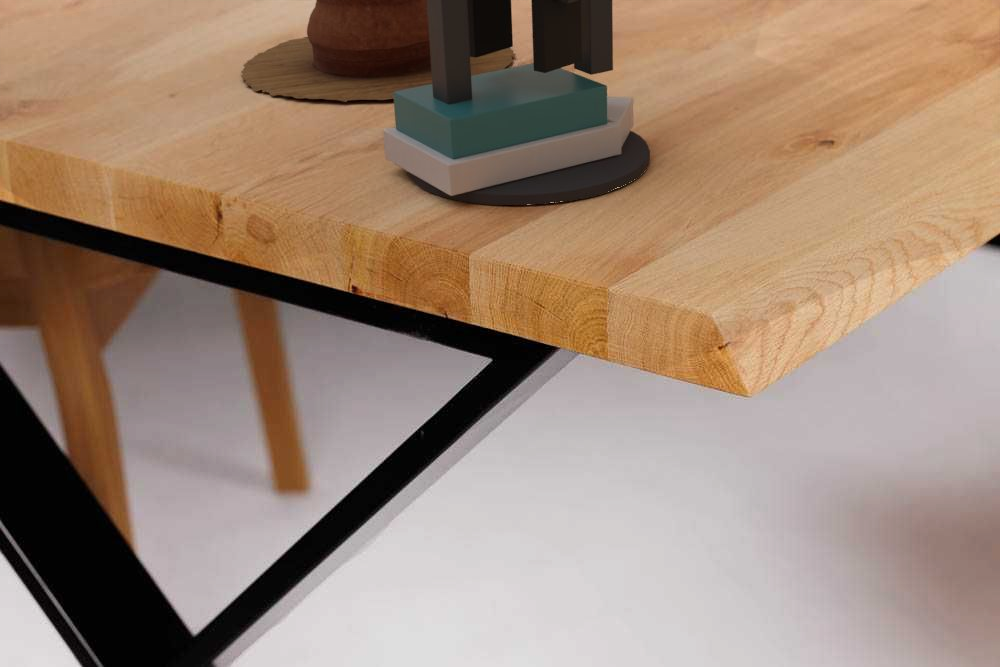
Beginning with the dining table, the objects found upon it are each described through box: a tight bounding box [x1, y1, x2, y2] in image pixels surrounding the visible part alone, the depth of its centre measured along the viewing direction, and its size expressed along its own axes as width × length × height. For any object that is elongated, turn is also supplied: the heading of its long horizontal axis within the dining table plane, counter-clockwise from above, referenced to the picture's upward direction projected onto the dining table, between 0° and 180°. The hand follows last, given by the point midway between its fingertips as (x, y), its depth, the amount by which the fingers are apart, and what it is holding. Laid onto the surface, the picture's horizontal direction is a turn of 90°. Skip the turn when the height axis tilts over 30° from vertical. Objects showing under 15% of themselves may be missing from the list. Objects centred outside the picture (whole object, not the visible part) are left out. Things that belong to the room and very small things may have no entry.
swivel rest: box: [406, 130, 651, 206], centre depth 75 cm, size 13×13×1 cm
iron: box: [382, 0, 634, 196], centre depth 72 cm, size 13×7×12 cm, turn 121°
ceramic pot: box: [240, 0, 516, 103], centre depth 92 cm, size 18×18×7 cm
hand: (523, 57), depth 73 cm, fingers closed on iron, 4 cm apart
